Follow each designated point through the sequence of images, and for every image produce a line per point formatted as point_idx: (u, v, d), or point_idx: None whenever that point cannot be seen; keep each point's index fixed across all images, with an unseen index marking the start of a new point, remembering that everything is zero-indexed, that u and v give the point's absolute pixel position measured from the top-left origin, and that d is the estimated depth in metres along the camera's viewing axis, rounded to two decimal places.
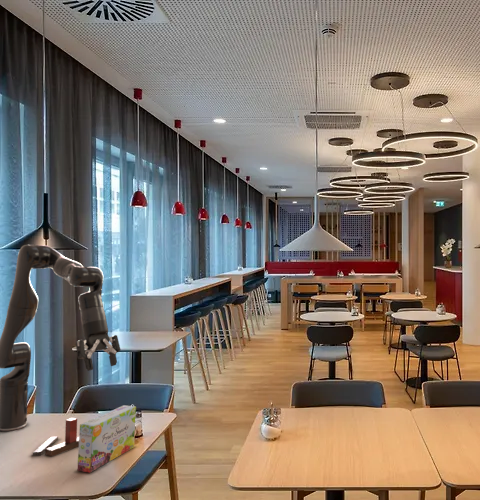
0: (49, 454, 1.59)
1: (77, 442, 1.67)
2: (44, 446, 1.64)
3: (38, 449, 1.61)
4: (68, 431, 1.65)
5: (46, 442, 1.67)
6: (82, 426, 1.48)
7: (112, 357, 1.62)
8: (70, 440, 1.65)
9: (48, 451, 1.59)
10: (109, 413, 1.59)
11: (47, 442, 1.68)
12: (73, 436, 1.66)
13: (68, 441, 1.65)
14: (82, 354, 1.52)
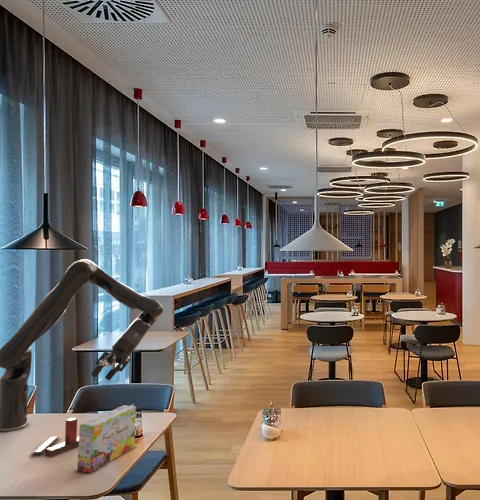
0: (49, 454, 1.59)
1: (77, 442, 1.67)
2: (44, 446, 1.64)
3: (38, 449, 1.61)
4: (68, 431, 1.65)
5: (46, 442, 1.67)
6: (82, 426, 1.48)
7: (99, 370, 1.80)
8: (70, 440, 1.65)
9: (48, 451, 1.59)
10: (109, 413, 1.59)
11: (47, 442, 1.68)
12: (73, 436, 1.66)
13: (68, 441, 1.65)
14: None
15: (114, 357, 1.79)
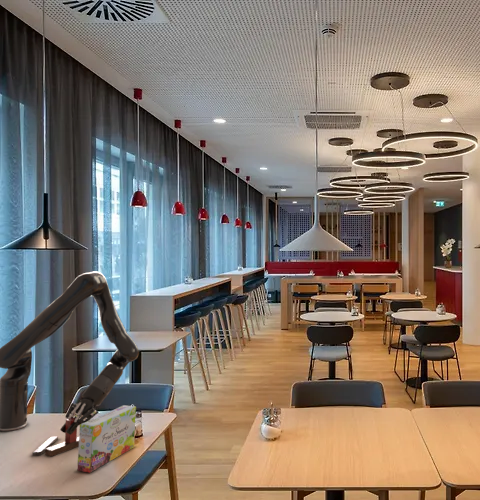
0: (49, 454, 1.59)
1: (77, 442, 1.67)
2: (44, 446, 1.64)
3: (38, 449, 1.61)
4: None
5: (46, 442, 1.67)
6: (82, 426, 1.48)
7: None
8: (70, 440, 1.65)
9: (48, 451, 1.59)
10: (109, 413, 1.59)
11: (47, 442, 1.68)
12: (73, 436, 1.66)
13: (68, 441, 1.65)
14: None
15: (83, 407, 1.69)
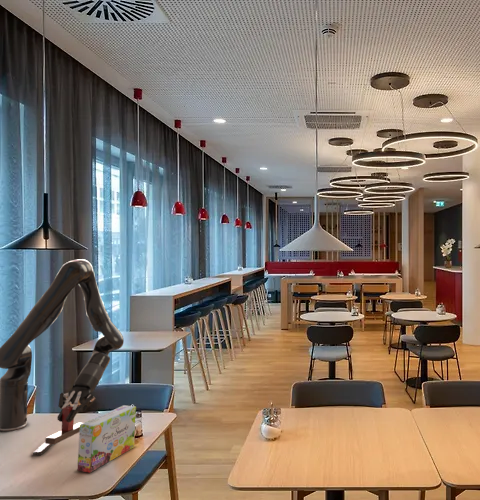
0: (51, 442, 1.57)
1: (74, 430, 1.66)
2: (44, 446, 1.64)
3: (38, 449, 1.61)
4: None
5: None
6: (82, 426, 1.48)
7: None
8: (68, 428, 1.64)
9: (50, 439, 1.57)
10: (109, 413, 1.59)
11: None
12: (71, 424, 1.65)
13: (66, 429, 1.64)
14: None
15: (80, 394, 1.69)
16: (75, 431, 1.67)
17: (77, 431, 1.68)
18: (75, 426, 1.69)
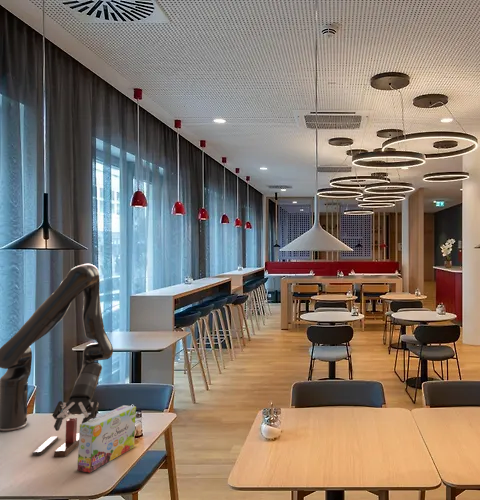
0: (61, 455, 1.59)
1: (77, 441, 1.68)
2: (44, 446, 1.64)
3: (38, 449, 1.61)
4: (70, 431, 1.65)
5: (46, 442, 1.67)
6: (82, 426, 1.48)
7: (61, 422, 1.67)
8: (73, 439, 1.66)
9: (59, 452, 1.59)
10: (109, 413, 1.59)
11: (47, 442, 1.68)
12: (75, 435, 1.67)
13: (71, 441, 1.65)
14: None
15: (81, 405, 1.70)
16: (78, 442, 1.69)
17: None
18: (75, 437, 1.71)
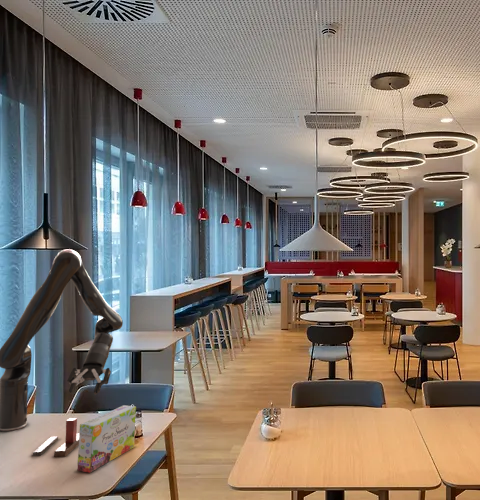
0: (61, 455, 1.59)
1: (77, 441, 1.68)
2: (44, 446, 1.64)
3: (38, 449, 1.61)
4: (70, 431, 1.65)
5: (46, 442, 1.67)
6: (82, 426, 1.48)
7: (75, 387, 1.78)
8: (73, 439, 1.66)
9: (59, 452, 1.59)
10: (109, 413, 1.59)
11: (47, 442, 1.68)
12: (75, 435, 1.67)
13: (71, 441, 1.65)
14: None
15: (94, 372, 1.81)
16: (78, 442, 1.69)
17: None
18: (75, 437, 1.71)
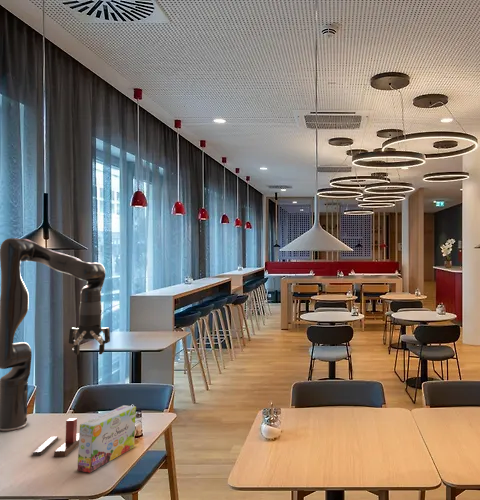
0: (61, 455, 1.59)
1: (77, 441, 1.68)
2: (44, 446, 1.64)
3: (38, 449, 1.61)
4: (70, 431, 1.65)
5: (46, 442, 1.67)
6: (82, 426, 1.48)
7: (79, 346, 1.83)
8: (73, 439, 1.66)
9: (59, 452, 1.59)
10: (109, 413, 1.59)
11: (47, 442, 1.68)
12: (75, 435, 1.67)
13: (71, 441, 1.65)
14: None
15: (93, 334, 1.81)
16: (78, 442, 1.69)
17: None
18: (75, 437, 1.71)
